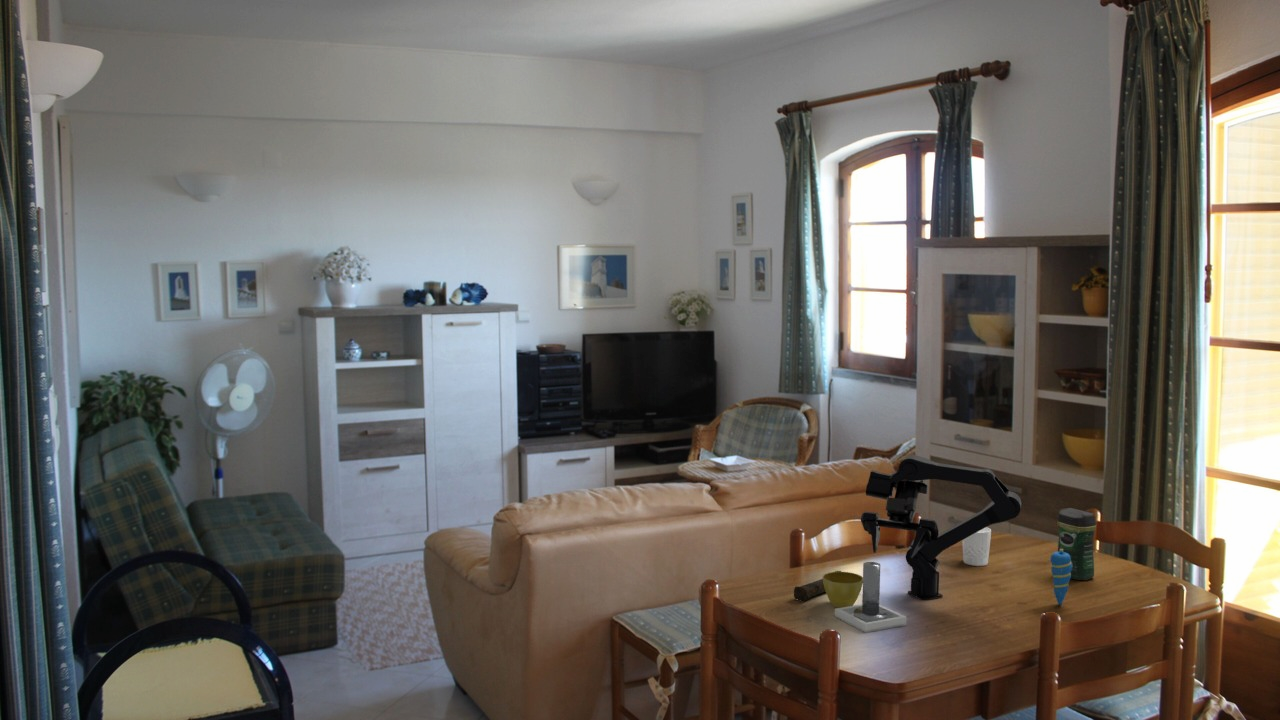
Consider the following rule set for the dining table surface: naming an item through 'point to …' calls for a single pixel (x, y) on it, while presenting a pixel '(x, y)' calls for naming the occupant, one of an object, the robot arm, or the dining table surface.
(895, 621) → the tray
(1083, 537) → the coffee jar
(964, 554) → the white cup
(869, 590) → the steel stop
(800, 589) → the hand tool
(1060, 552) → the ornament
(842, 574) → the flower pot
